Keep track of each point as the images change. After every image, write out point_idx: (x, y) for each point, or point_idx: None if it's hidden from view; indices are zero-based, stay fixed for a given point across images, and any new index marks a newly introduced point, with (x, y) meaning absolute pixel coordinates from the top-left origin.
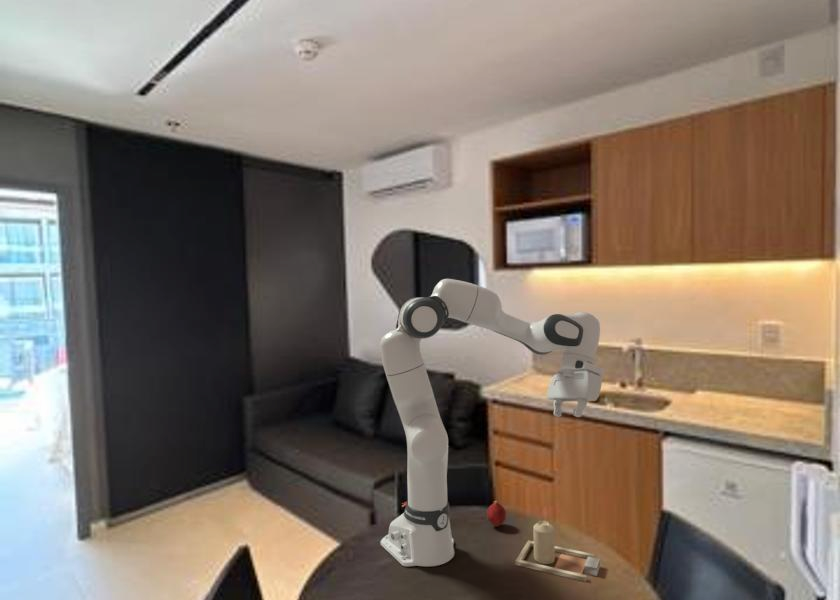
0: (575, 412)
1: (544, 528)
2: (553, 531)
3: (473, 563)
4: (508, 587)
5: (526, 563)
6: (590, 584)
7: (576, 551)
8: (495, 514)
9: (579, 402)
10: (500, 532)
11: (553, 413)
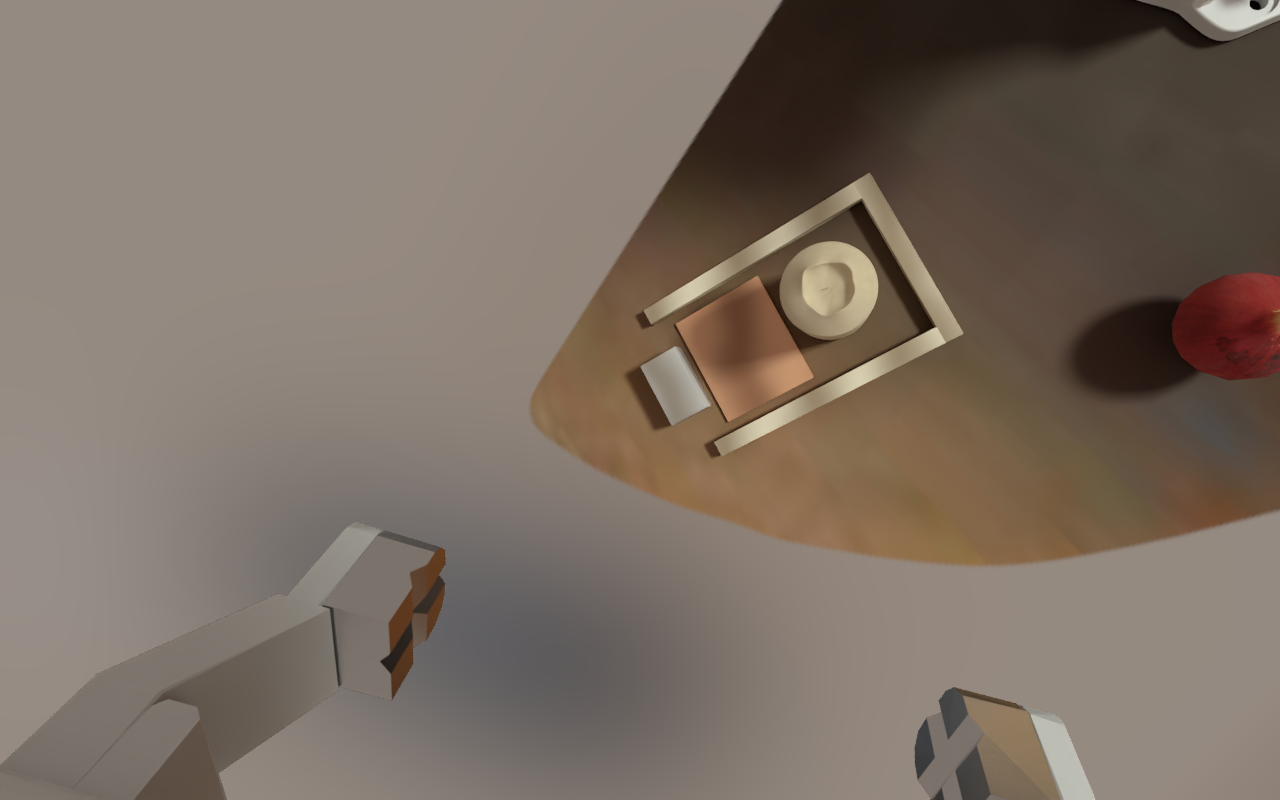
0: (350, 546)
1: (799, 265)
2: (782, 307)
3: (988, 31)
4: (775, 62)
5: (830, 200)
6: (631, 311)
7: (773, 421)
8: (1214, 289)
9: (125, 681)
10: (1135, 302)
11: (1062, 724)
